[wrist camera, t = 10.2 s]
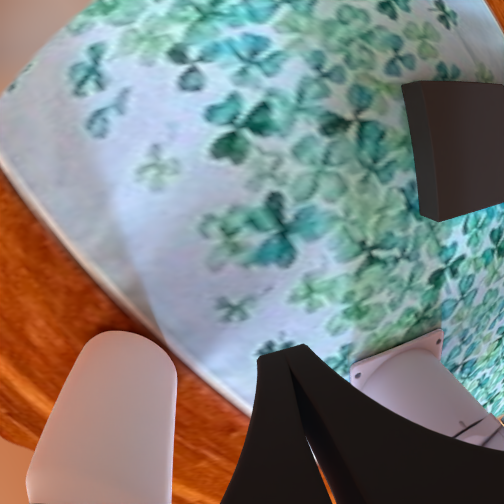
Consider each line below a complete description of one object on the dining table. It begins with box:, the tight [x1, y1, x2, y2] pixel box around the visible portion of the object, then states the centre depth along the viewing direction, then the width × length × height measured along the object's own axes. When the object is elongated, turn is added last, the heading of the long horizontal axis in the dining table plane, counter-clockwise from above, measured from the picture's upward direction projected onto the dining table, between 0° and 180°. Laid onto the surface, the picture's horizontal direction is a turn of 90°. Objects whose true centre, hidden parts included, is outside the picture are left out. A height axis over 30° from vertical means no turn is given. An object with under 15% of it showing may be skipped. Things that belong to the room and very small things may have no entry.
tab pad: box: [401, 81, 504, 222], centre depth 16 cm, size 8×10×2 cm
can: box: [26, 331, 177, 504], centre depth 13 cm, size 6×6×12 cm
